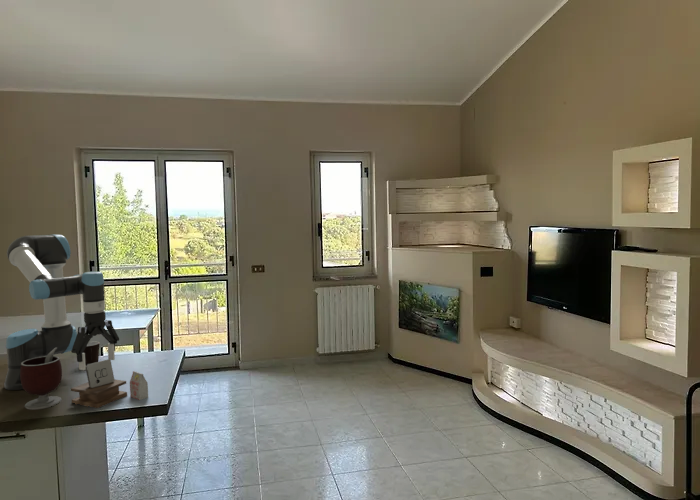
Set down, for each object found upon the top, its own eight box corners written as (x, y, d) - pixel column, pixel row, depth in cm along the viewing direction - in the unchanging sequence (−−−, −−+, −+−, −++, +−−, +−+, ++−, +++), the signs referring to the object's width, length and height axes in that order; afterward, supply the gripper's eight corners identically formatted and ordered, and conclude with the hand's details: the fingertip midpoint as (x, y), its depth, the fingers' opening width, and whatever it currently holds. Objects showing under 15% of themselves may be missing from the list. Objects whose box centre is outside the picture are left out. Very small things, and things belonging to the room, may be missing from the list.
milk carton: (139, 394, 207) (137, 369, 207) (148, 397, 203) (147, 372, 203) (130, 396, 204) (129, 372, 204) (139, 400, 200) (138, 375, 200)
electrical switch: (91, 389, 197) (89, 365, 197) (85, 387, 200) (82, 364, 200) (115, 382, 204) (112, 359, 204) (108, 381, 207) (106, 358, 207)
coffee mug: (85, 361, 255) (84, 342, 254) (103, 360, 256) (102, 341, 255) (75, 368, 244) (74, 348, 243) (94, 367, 245) (93, 347, 244)
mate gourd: (45, 411, 191) (42, 358, 190) (13, 409, 193) (9, 357, 192) (74, 396, 206) (71, 347, 205) (44, 394, 209) (41, 346, 207)
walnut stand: (71, 403, 198) (70, 388, 198) (101, 391, 211) (101, 377, 211) (97, 408, 193) (96, 392, 192) (127, 395, 206) (126, 381, 205)
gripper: (72, 318, 186) (76, 375, 188) (127, 306, 209) (129, 356, 211) (58, 317, 189) (62, 372, 191) (113, 304, 212) (116, 354, 214)
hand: (97, 364), depth 201 cm, fingers open, 13 cm apart
